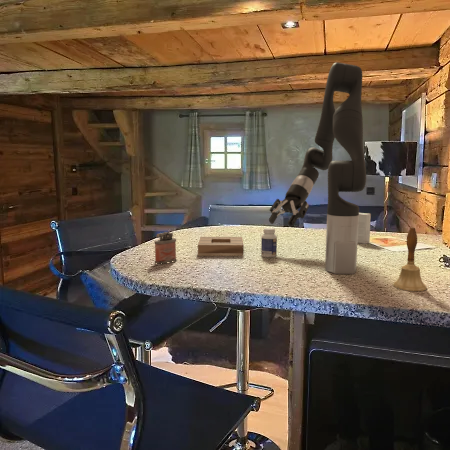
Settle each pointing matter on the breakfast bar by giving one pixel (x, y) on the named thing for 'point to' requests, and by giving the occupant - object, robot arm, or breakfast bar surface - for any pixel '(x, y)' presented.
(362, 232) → the skincare box
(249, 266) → the breakfast bar surface
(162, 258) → the lighter
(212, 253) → the socket block
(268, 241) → the pill bottle
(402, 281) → the hand bell
